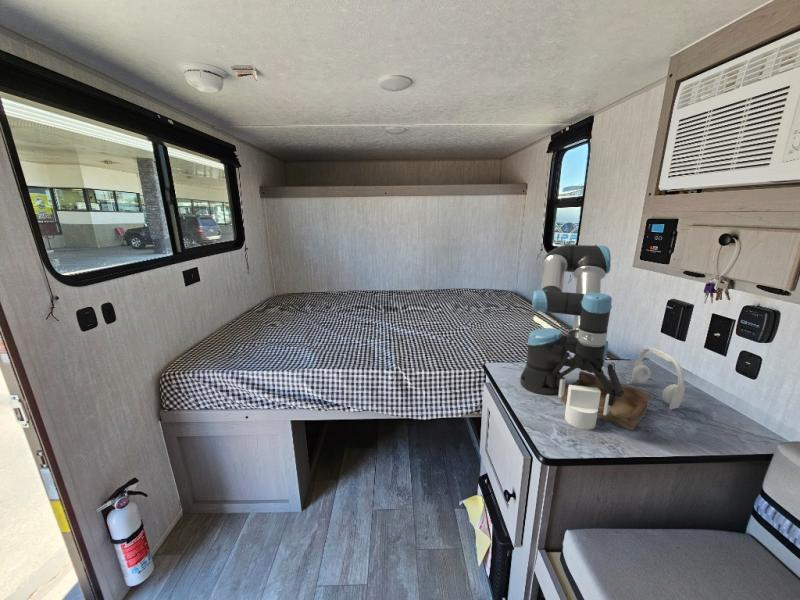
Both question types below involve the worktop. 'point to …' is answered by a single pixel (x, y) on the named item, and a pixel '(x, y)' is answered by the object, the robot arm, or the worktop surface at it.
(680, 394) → the headset
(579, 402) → the cylinder with rectangular tab
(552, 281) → the robot arm
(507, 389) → the worktop surface
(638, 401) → the caddy
